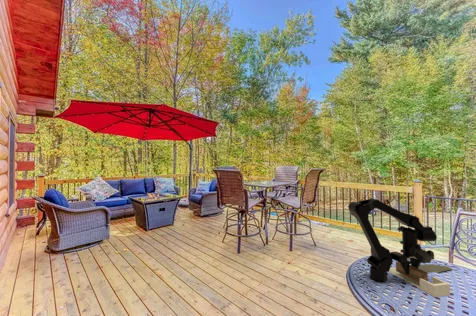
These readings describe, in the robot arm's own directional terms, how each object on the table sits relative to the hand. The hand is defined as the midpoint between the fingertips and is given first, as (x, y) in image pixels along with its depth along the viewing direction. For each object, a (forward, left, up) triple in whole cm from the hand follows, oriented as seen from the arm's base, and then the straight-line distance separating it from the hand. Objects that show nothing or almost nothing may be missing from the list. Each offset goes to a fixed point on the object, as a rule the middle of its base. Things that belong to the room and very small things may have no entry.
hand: (411, 273), depth 100 cm
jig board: (0, 0, -4) cm, 4 cm away
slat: (0, 0, -1) cm, 1 cm away
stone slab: (+22, +8, -4) cm, 24 cm away
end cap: (0, -10, -3) cm, 10 cm away
